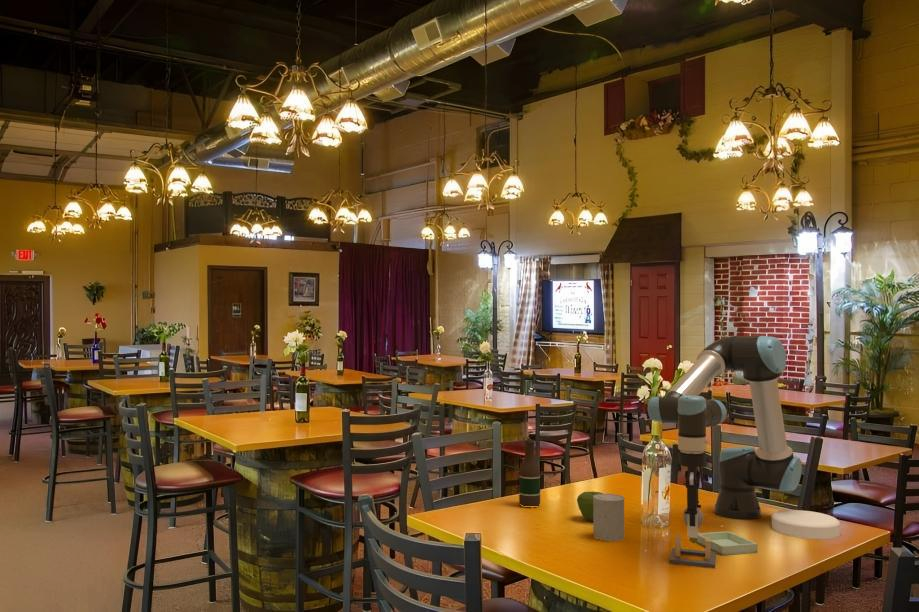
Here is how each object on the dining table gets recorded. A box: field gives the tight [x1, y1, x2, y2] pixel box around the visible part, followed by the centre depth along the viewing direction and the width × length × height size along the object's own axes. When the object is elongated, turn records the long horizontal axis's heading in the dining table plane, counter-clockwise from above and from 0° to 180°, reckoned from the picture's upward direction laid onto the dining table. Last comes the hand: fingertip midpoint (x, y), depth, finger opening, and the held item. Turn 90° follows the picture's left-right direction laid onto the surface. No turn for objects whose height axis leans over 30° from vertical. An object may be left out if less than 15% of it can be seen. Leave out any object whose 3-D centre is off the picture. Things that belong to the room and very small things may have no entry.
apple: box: [576, 490, 604, 522], centre depth 247 cm, size 11×10×10 cm
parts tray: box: [695, 530, 759, 556], centre depth 217 cm, size 14×12×2 cm
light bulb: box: [682, 507, 704, 544], centre depth 205 cm, size 6×6×10 cm
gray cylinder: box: [592, 493, 625, 542], centre depth 227 cm, size 10×10×12 cm
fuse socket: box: [668, 533, 717, 569], centre depth 205 cm, size 12×12×6 cm
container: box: [771, 509, 841, 540], centre depth 235 cm, size 20×20×5 cm
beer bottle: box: [518, 438, 541, 507], centre depth 267 cm, size 8×8×24 cm
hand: (693, 534), depth 205 cm, fingers closed on light bulb, 5 cm apart
